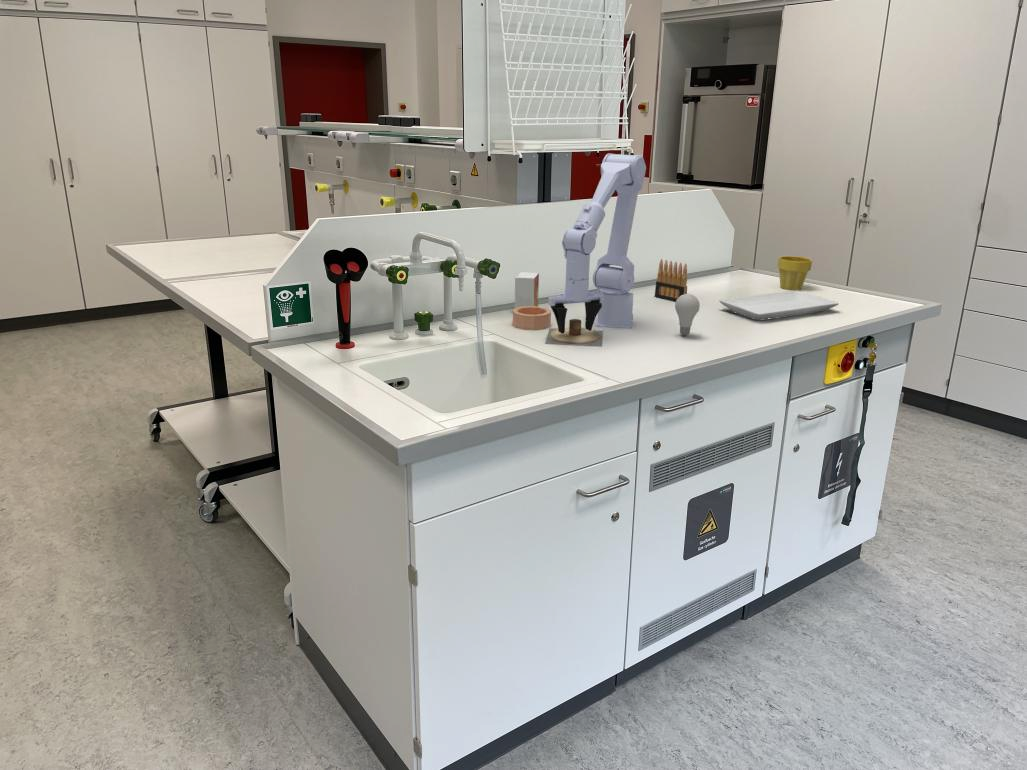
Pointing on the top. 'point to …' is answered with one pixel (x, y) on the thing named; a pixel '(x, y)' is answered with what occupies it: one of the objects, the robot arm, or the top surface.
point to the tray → (778, 304)
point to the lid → (575, 334)
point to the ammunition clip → (671, 281)
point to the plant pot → (793, 271)
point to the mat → (596, 343)
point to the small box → (526, 289)
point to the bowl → (531, 317)
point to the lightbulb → (686, 311)
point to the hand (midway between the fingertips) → (575, 330)
